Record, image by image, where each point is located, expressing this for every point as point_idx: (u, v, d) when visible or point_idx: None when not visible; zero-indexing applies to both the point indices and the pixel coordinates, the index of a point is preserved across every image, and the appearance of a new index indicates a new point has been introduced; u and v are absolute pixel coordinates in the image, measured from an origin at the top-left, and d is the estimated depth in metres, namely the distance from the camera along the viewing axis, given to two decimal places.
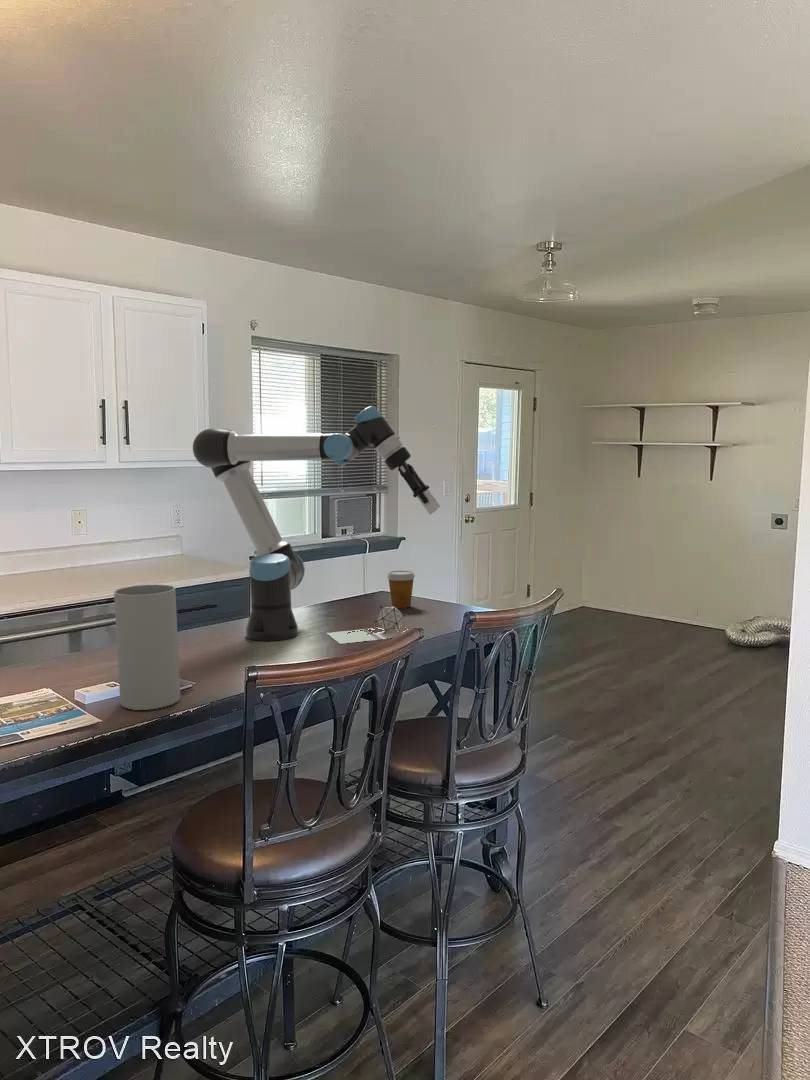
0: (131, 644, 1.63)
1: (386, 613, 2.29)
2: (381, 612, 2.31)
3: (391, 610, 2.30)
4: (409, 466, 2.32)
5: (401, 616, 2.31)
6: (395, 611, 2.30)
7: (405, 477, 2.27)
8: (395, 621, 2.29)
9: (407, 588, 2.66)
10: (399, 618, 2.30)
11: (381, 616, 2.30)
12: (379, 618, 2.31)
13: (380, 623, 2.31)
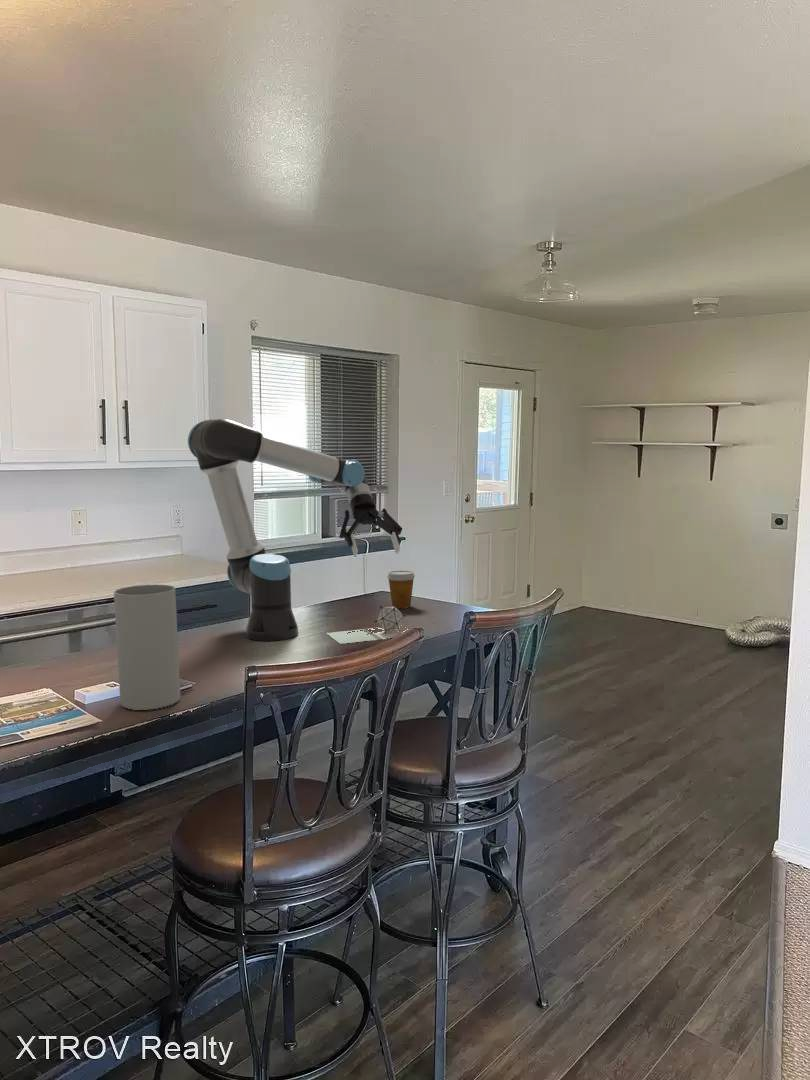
0: (131, 644, 1.63)
1: (386, 613, 2.29)
2: (381, 612, 2.31)
3: (391, 610, 2.30)
4: None
5: (401, 616, 2.31)
6: (395, 611, 2.30)
7: None
8: (395, 621, 2.29)
9: (407, 588, 2.66)
10: (399, 618, 2.30)
11: (381, 616, 2.30)
12: (379, 618, 2.31)
13: (380, 623, 2.31)
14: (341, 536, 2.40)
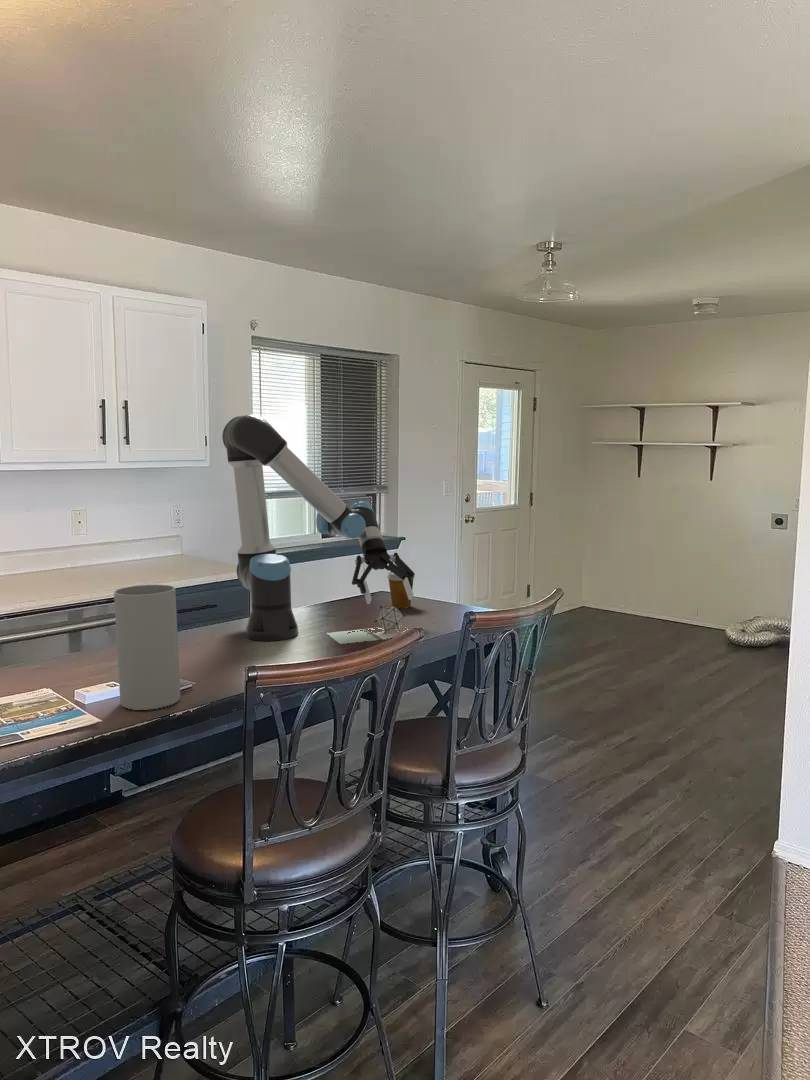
0: (131, 644, 1.63)
1: (386, 613, 2.29)
2: (381, 612, 2.31)
3: (391, 610, 2.30)
4: None
5: (401, 616, 2.31)
6: (395, 611, 2.30)
7: None
8: (395, 621, 2.29)
9: None
10: (399, 618, 2.30)
11: (381, 616, 2.30)
12: (379, 618, 2.31)
13: (380, 623, 2.31)
14: (354, 583, 2.37)
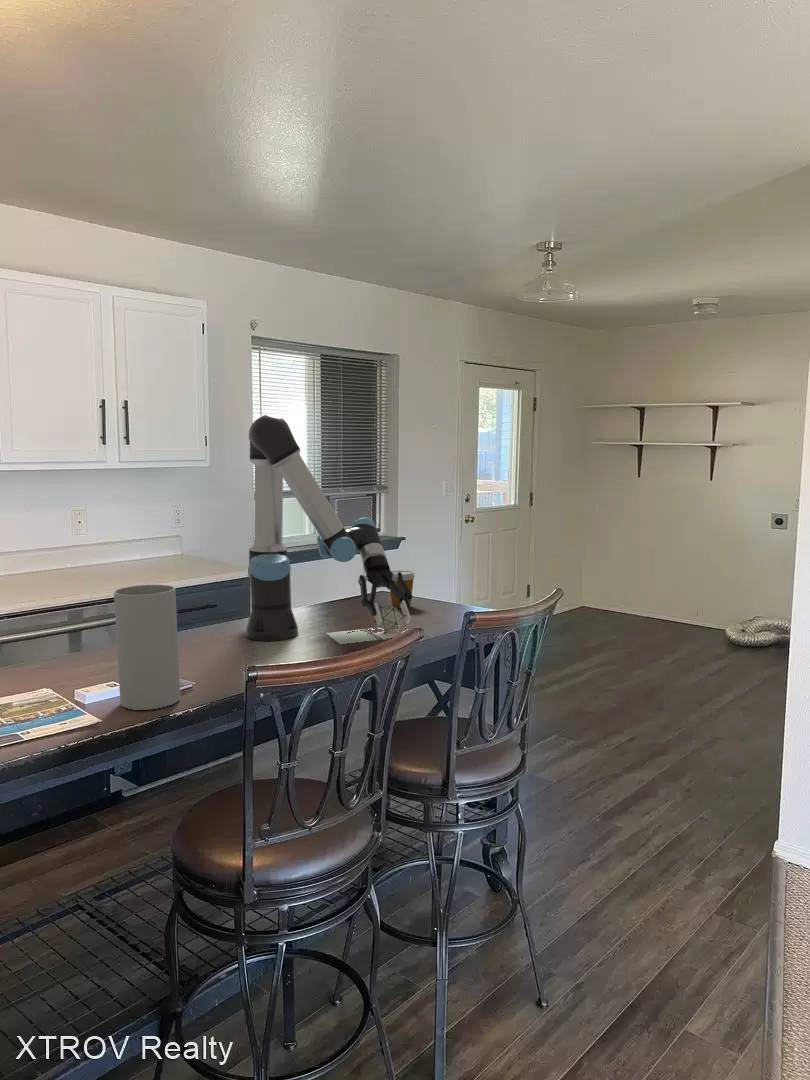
0: (131, 644, 1.63)
1: (386, 614, 2.29)
2: (381, 612, 2.31)
3: (391, 610, 2.30)
4: None
5: (401, 616, 2.31)
6: (395, 611, 2.30)
7: None
8: (395, 621, 2.29)
9: None
10: (399, 618, 2.30)
11: None
12: None
13: None
14: (364, 604, 2.31)
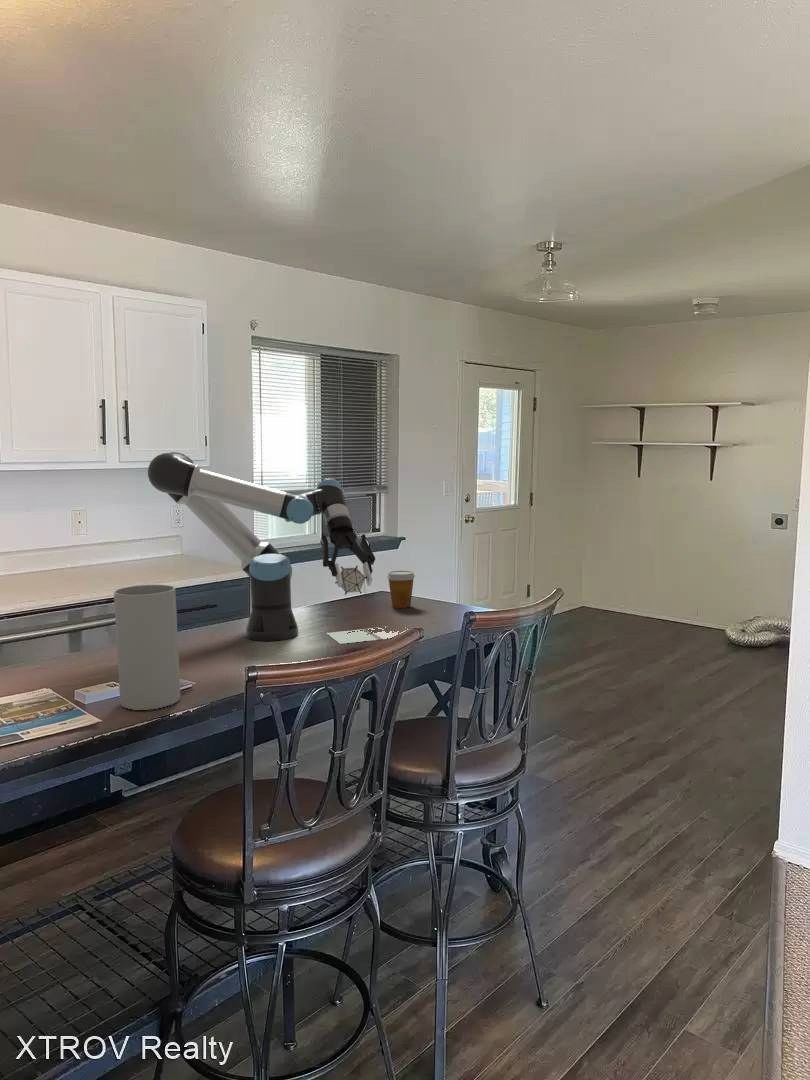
0: (131, 644, 1.63)
1: (347, 574, 2.24)
2: (342, 573, 2.25)
3: (352, 571, 2.24)
4: None
5: (362, 578, 2.25)
6: (356, 572, 2.24)
7: None
8: (356, 582, 2.23)
9: (407, 588, 2.66)
10: (360, 579, 2.24)
11: None
12: None
13: None
14: (325, 565, 2.25)
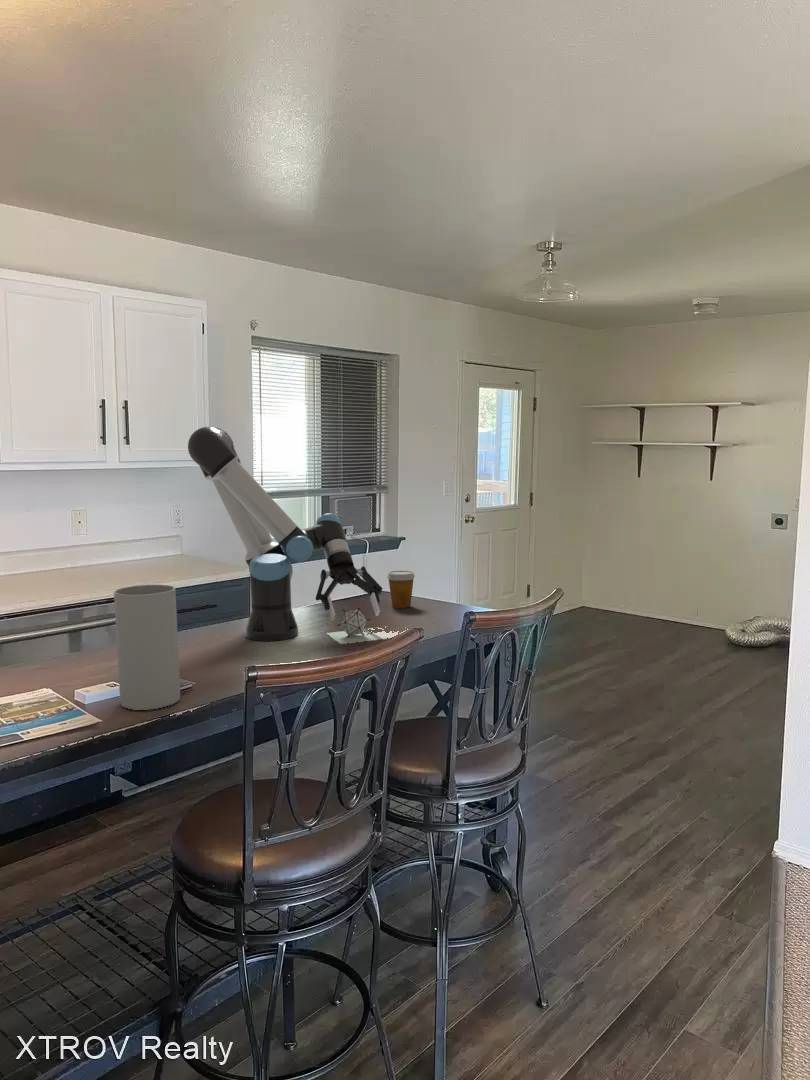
0: (131, 644, 1.63)
1: (349, 617, 2.25)
2: (344, 616, 2.26)
3: (354, 614, 2.25)
4: None
5: (364, 620, 2.26)
6: (358, 615, 2.25)
7: None
8: (358, 625, 2.24)
9: (407, 588, 2.66)
10: (362, 622, 2.25)
11: (343, 620, 2.26)
12: (342, 622, 2.26)
13: (343, 627, 2.26)
14: (317, 598, 2.26)
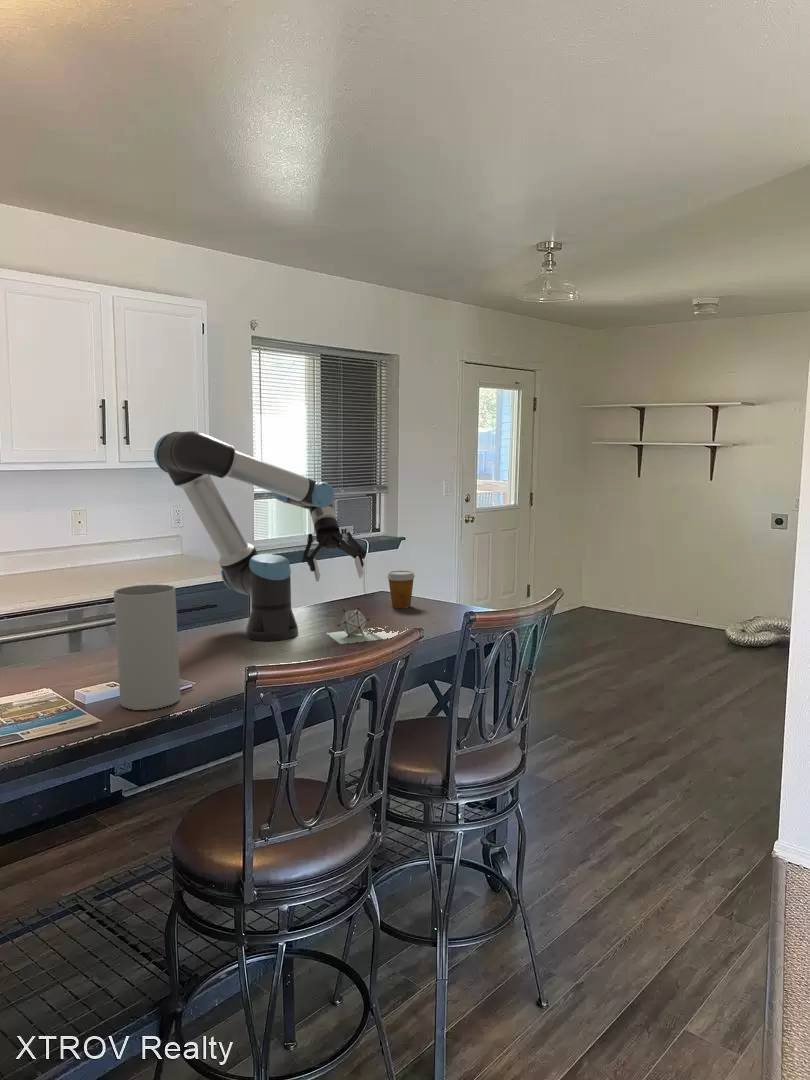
0: (131, 644, 1.63)
1: (349, 617, 2.25)
2: (344, 616, 2.26)
3: (354, 614, 2.25)
4: None
5: (364, 620, 2.26)
6: (358, 615, 2.25)
7: None
8: (358, 625, 2.24)
9: (407, 588, 2.66)
10: (362, 622, 2.26)
11: (343, 620, 2.26)
12: (342, 622, 2.26)
13: (343, 627, 2.26)
14: (303, 560, 2.37)
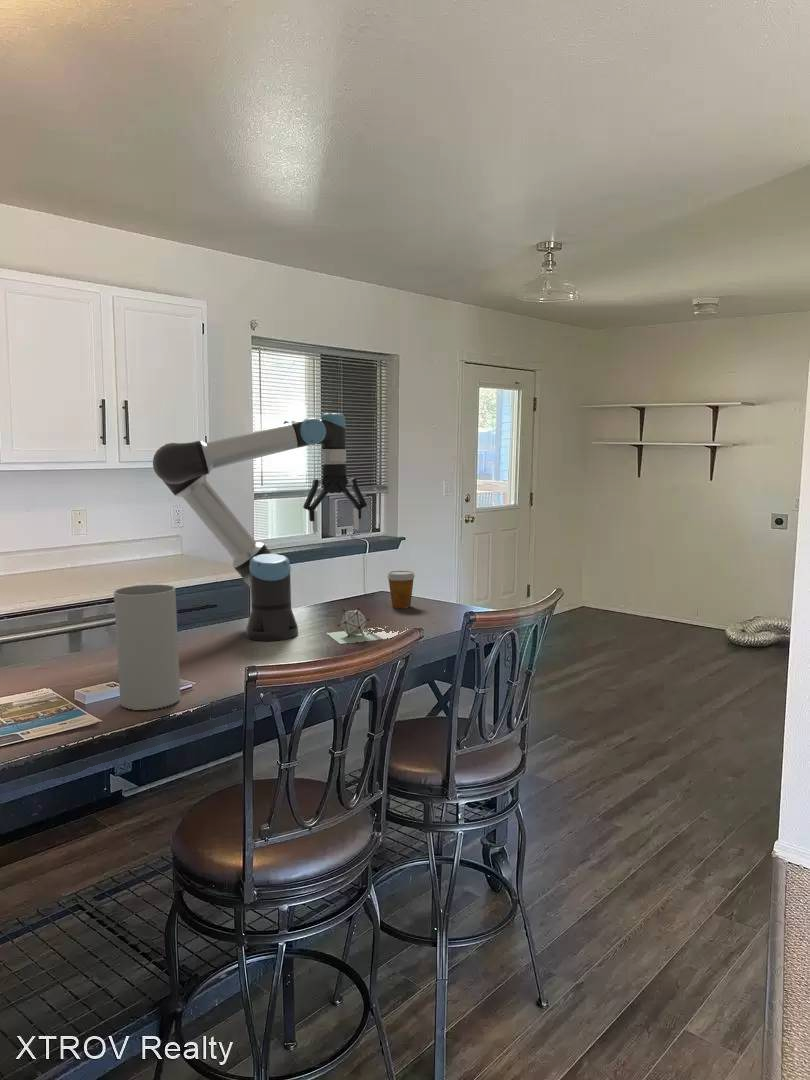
0: (131, 644, 1.63)
1: (349, 617, 2.25)
2: (344, 616, 2.26)
3: (354, 614, 2.25)
4: None
5: (364, 620, 2.26)
6: (358, 615, 2.25)
7: None
8: (358, 625, 2.24)
9: (407, 588, 2.66)
10: (362, 622, 2.26)
11: (343, 620, 2.26)
12: (342, 622, 2.26)
13: (343, 627, 2.26)
14: (305, 508, 2.43)
